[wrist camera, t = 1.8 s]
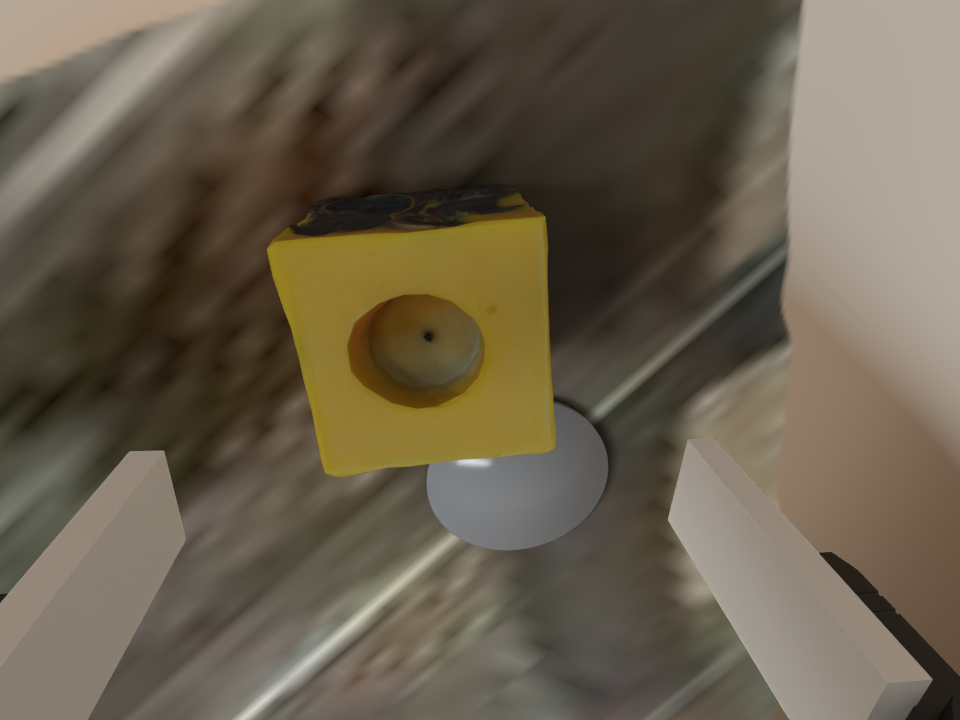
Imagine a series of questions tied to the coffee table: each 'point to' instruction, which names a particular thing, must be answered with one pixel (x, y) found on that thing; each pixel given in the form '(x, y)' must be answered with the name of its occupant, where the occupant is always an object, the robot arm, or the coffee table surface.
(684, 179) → the coffee table surface
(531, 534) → the coaster
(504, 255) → the candle
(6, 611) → the robot arm
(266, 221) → the coffee table surface
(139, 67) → the coffee table surface
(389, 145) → the coffee table surface
